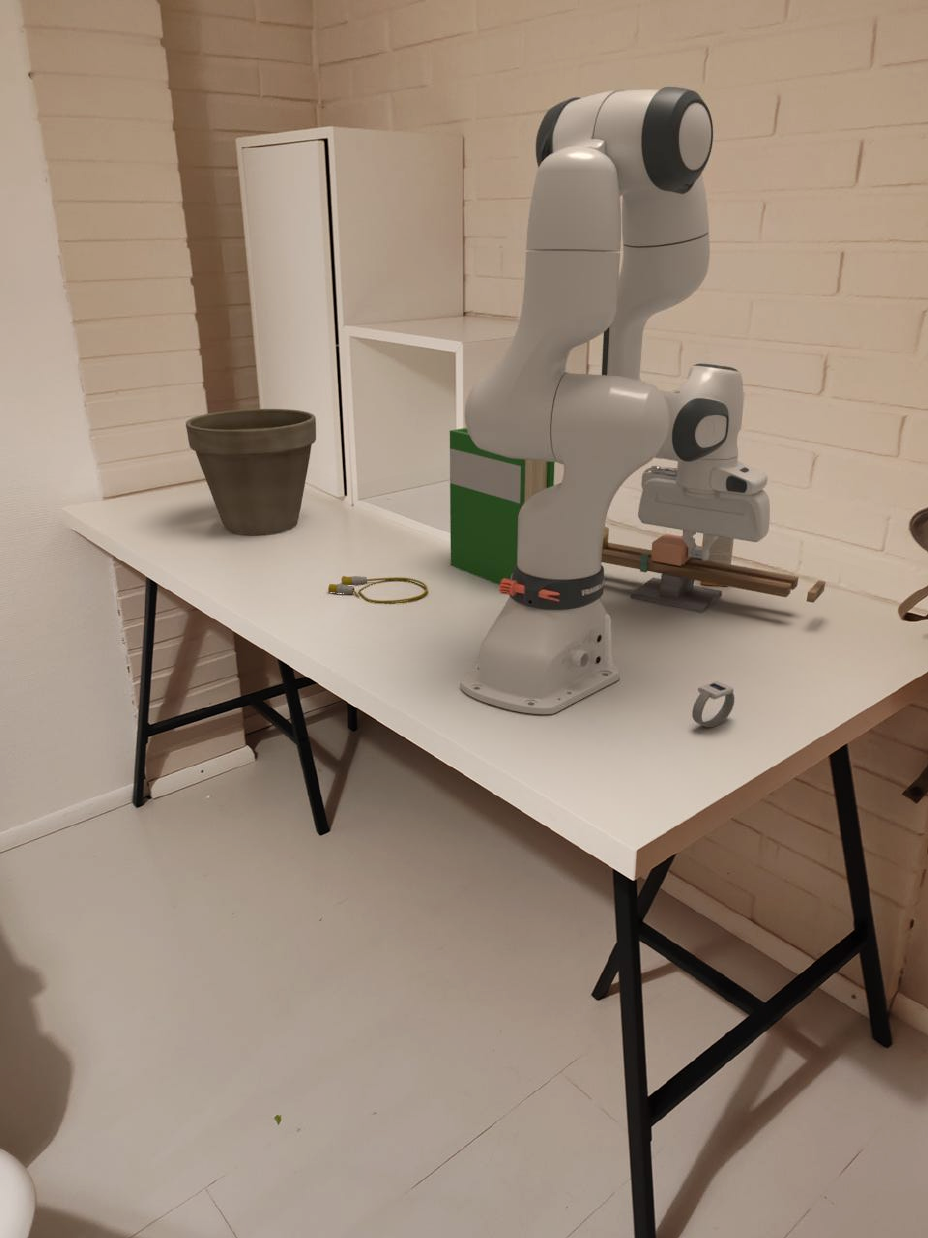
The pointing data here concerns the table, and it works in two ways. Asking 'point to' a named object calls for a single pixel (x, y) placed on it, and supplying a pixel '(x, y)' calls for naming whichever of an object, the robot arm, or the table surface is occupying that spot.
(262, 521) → the plant pot
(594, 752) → the table surface
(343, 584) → the extension cord
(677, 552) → the block
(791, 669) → the table surface
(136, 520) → the table surface
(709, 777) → the table surface
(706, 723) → the wristwatch
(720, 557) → the supplement box
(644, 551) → the balance scale
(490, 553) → the hardback book
